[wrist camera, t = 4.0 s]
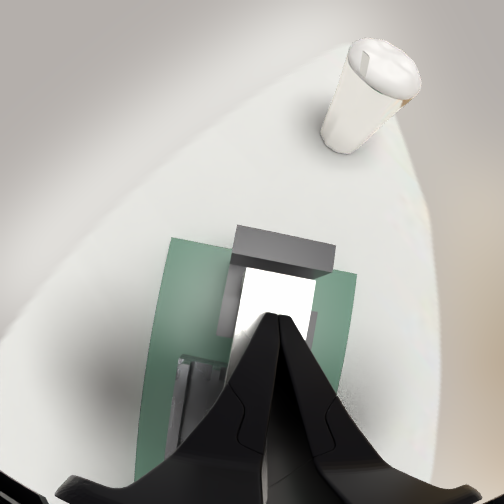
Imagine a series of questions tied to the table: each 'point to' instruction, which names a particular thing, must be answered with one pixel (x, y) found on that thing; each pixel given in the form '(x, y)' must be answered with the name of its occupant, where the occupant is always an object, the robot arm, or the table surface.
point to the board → (205, 327)
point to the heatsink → (193, 396)
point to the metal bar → (268, 300)
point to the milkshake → (368, 93)
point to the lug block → (271, 268)
